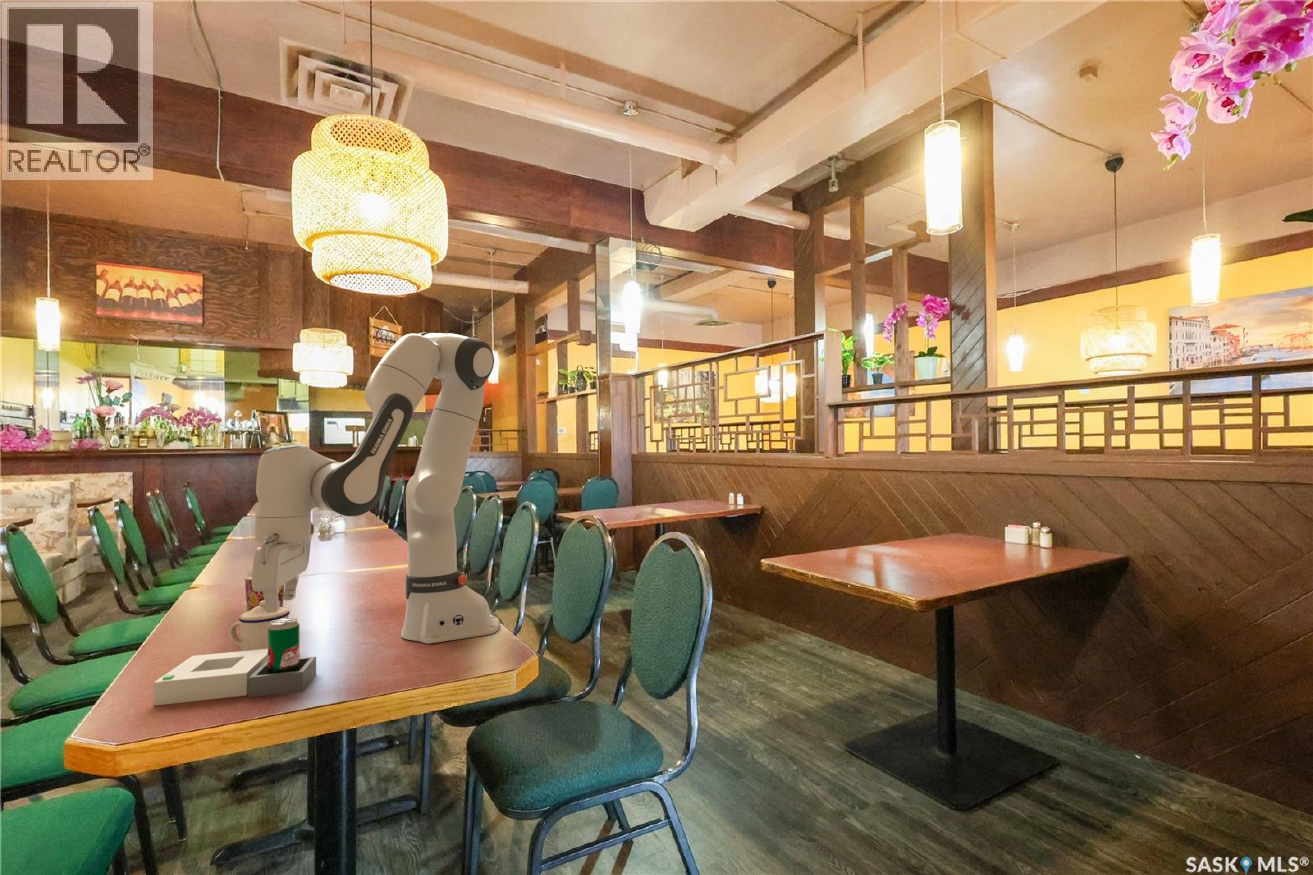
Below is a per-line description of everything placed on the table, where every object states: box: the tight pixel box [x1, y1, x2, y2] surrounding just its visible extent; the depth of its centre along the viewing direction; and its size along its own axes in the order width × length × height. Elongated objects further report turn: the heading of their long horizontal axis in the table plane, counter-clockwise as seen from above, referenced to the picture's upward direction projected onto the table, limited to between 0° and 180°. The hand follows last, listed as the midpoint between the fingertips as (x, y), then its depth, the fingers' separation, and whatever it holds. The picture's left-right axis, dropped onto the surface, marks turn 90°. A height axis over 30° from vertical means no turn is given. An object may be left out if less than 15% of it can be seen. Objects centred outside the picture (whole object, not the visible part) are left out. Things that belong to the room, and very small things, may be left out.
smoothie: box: [244, 565, 285, 612], centre depth 146 cm, size 8×8×20 cm
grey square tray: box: [248, 655, 317, 699], centre depth 111 cm, size 9×9×4 cm
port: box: [153, 649, 268, 707], centre depth 111 cm, size 14×14×4 cm
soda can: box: [268, 617, 301, 674], centre depth 111 cm, size 5×5×12 cm
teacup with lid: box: [229, 600, 290, 651], centre depth 128 cm, size 12×9×12 cm
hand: (281, 605), depth 111 cm, fingers open, 8 cm apart
